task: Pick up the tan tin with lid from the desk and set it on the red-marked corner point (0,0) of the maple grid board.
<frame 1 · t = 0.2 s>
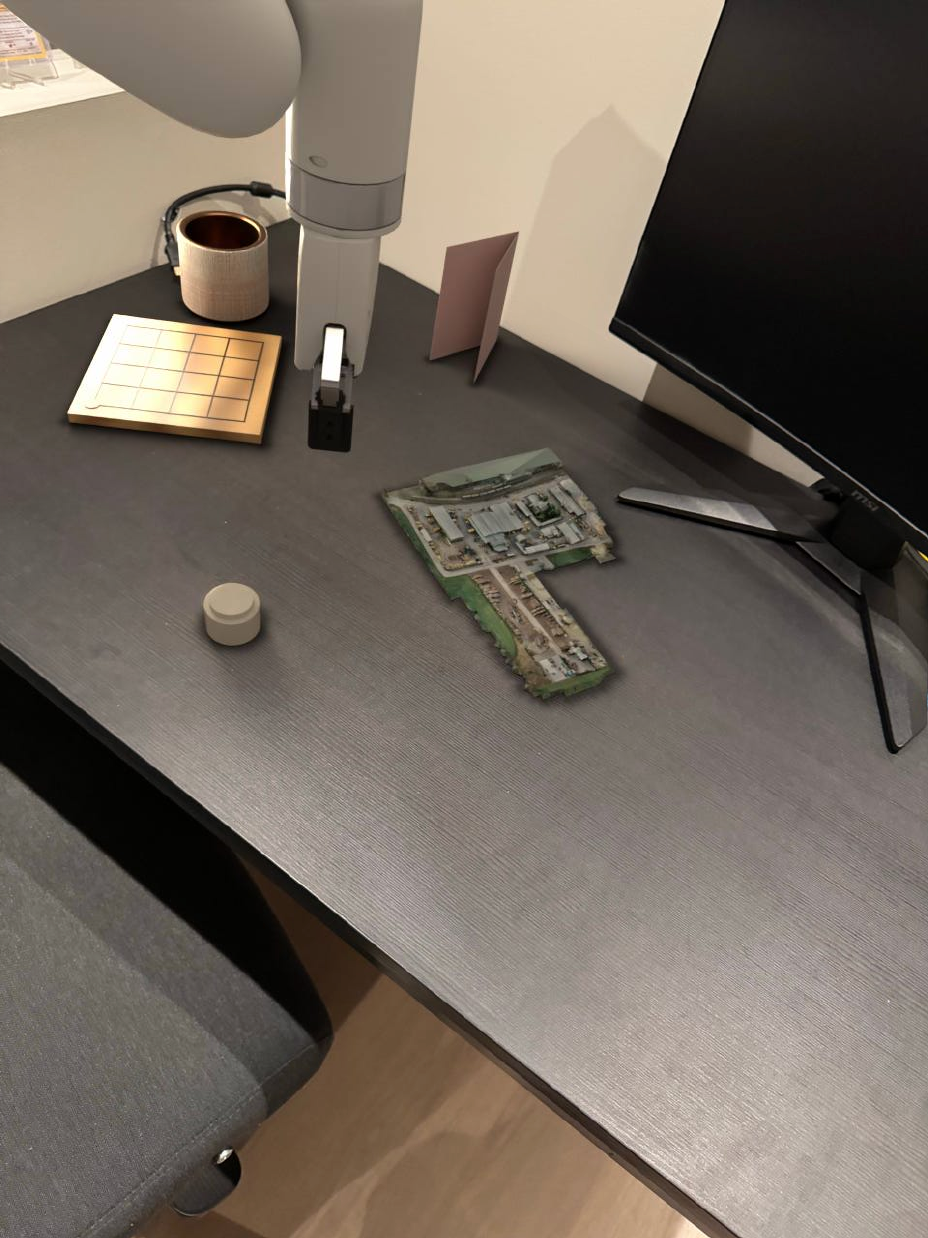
hand: (334, 409, 67), 19 cm above the table, tool pointing down, fingers open, 9 cm apart
tan tin with lid: (233, 625, 76), on the table
board: (184, 380, 98), on the table
greeting card: (476, 362, 111), on the table
model: (536, 568, 87), on the table
planter: (226, 304, 110), on the table
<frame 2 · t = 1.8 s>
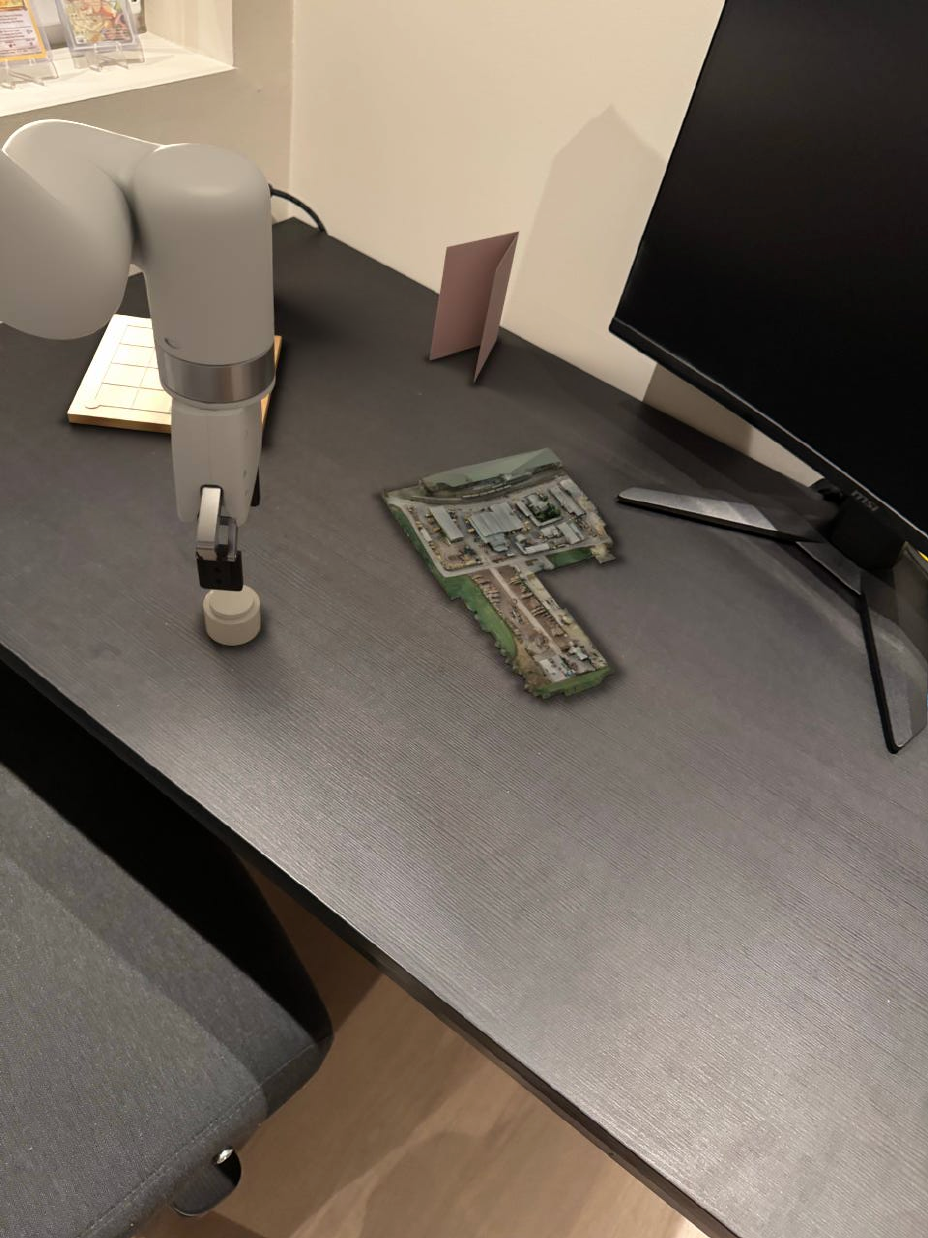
hand: (231, 543, 68), 10 cm above the table, tool pointing down, fingers open, 9 cm apart
nothing on the table moved.
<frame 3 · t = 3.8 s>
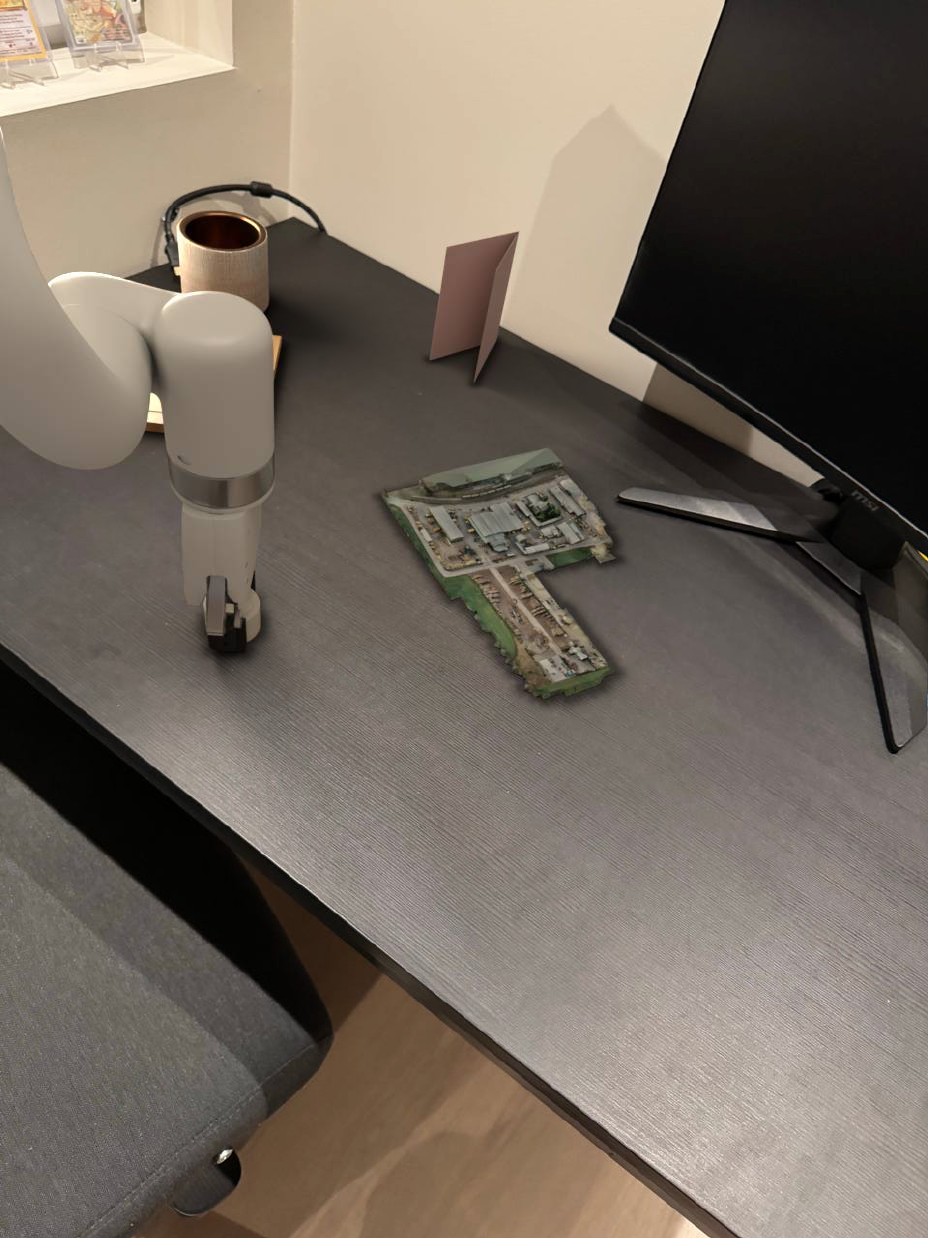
hand: (233, 622, 76), 0 cm above the table, tool pointing down, fingers closed on tan tin with lid, 4 cm apart
tan tin with lid: (233, 625, 76), on the table, touching gripper
everything else where it was.
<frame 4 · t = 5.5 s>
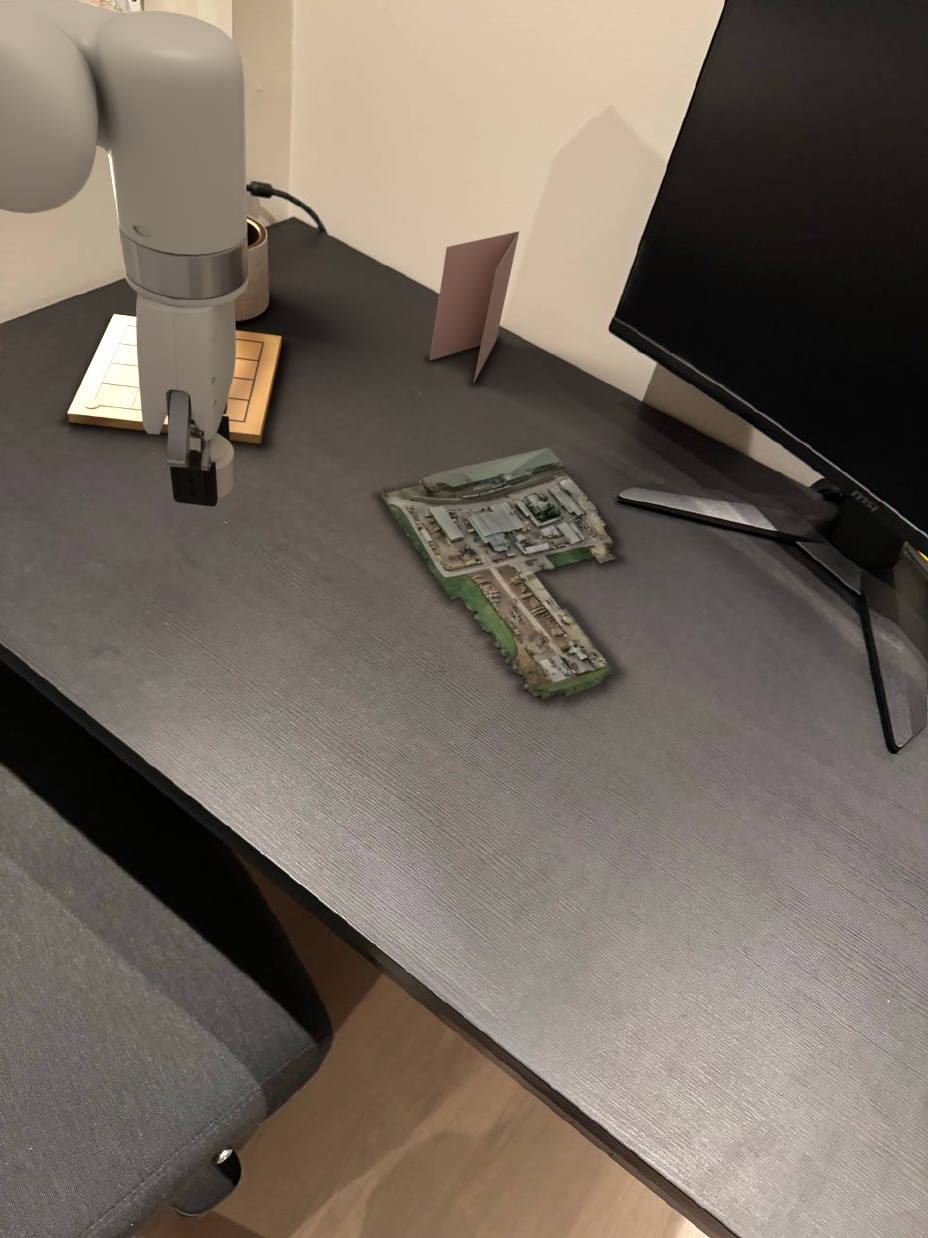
hand: (203, 476, 66), 15 cm above the table, tool pointing down, fingers closed on tan tin with lid, 4 cm apart
tan tin with lid: (203, 480, 67), point 14 cm above the table, touching gripper
everything else where it was.
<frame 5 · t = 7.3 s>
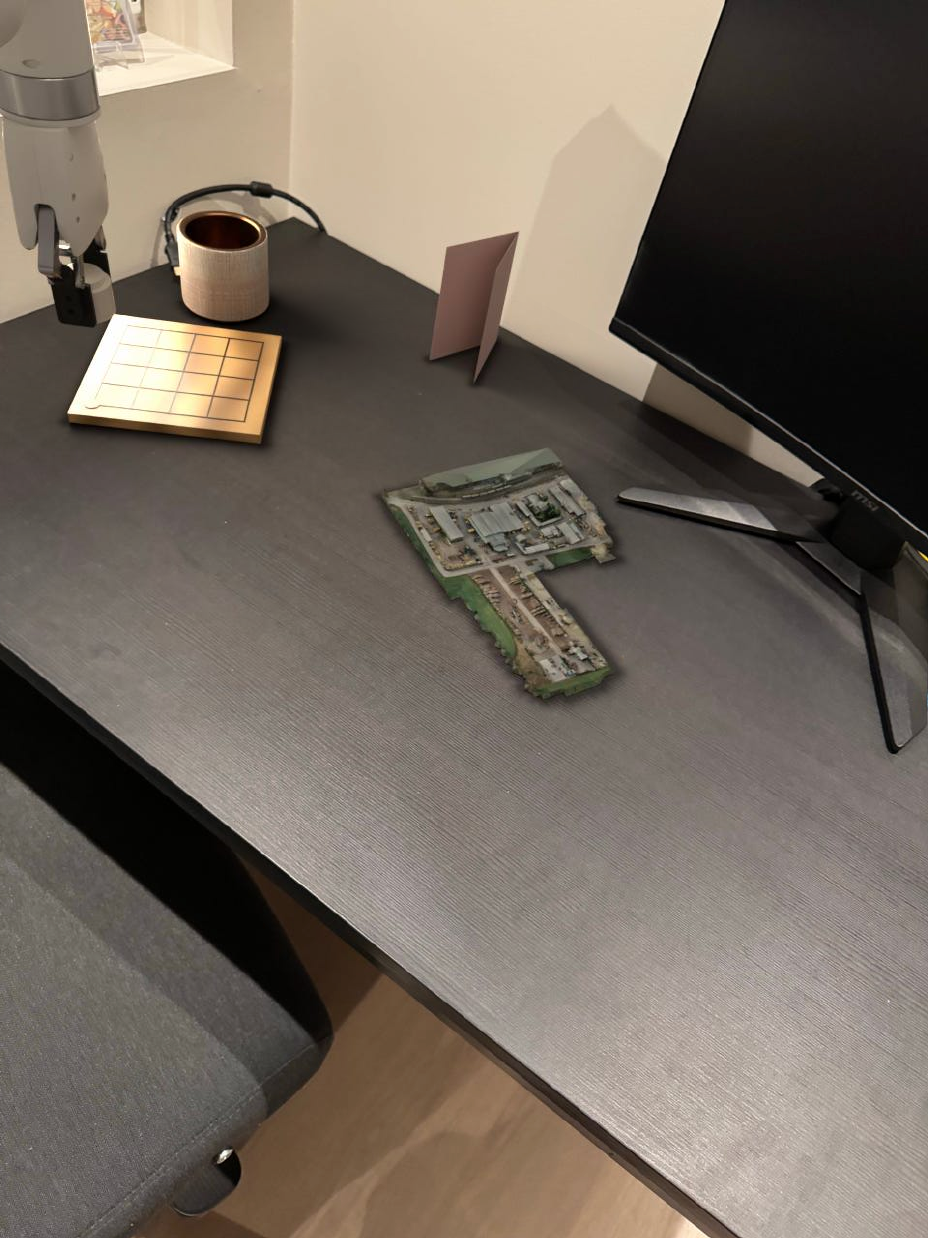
hand: (86, 305, 78), 15 cm above the table, tool pointing down, fingers closed on tan tin with lid, 4 cm apart
tan tin with lid: (88, 310, 78), point 15 cm above the table, touching gripper
everything else where it was.
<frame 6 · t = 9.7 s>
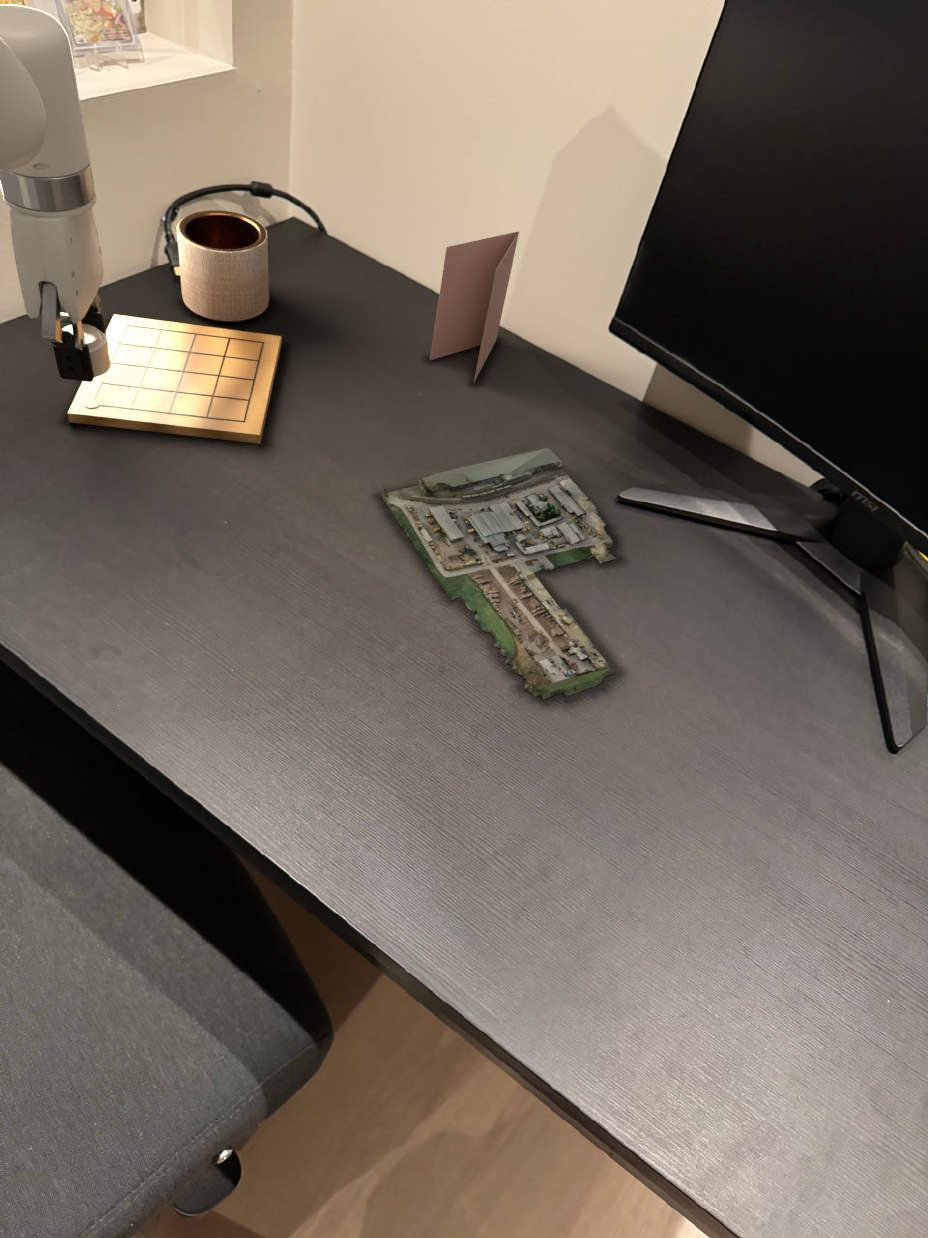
hand: (84, 361, 87), 6 cm above the table, tool pointing down, fingers closed on tan tin with lid, 4 cm apart
tan tin with lid: (86, 364, 87), point 6 cm above the table, touching gripper
everything else where it was.
when the fingers open (2 cm above the table, at t = 11.3 s): tan tin with lid stays where it is, resting on board.
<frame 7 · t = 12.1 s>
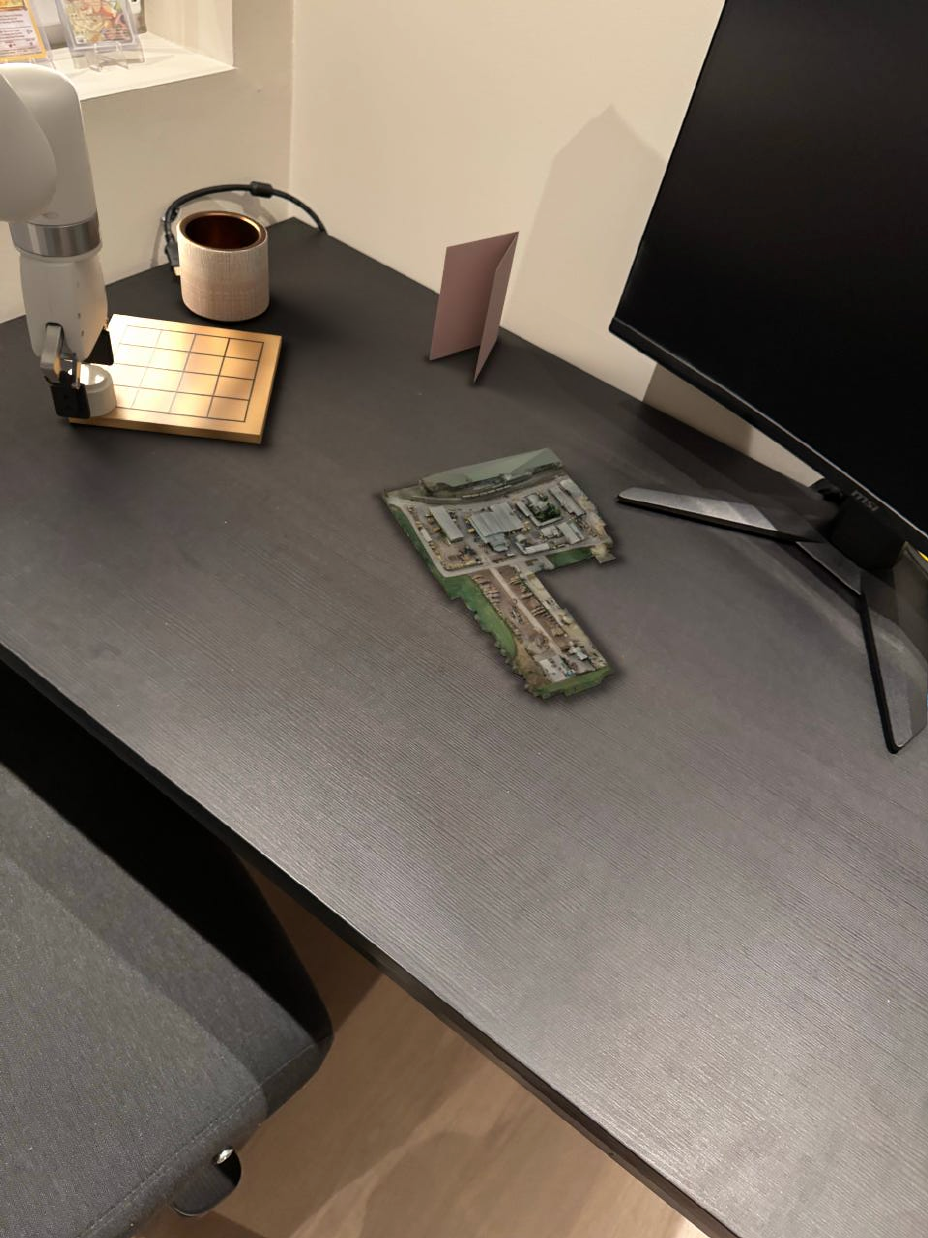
hand: (87, 388, 89), 3 cm above the table, tool pointing down, fingers open, 9 cm apart
tan tin with lid: (93, 403, 91), point 1 cm above the table, touching board
everything else where it was.
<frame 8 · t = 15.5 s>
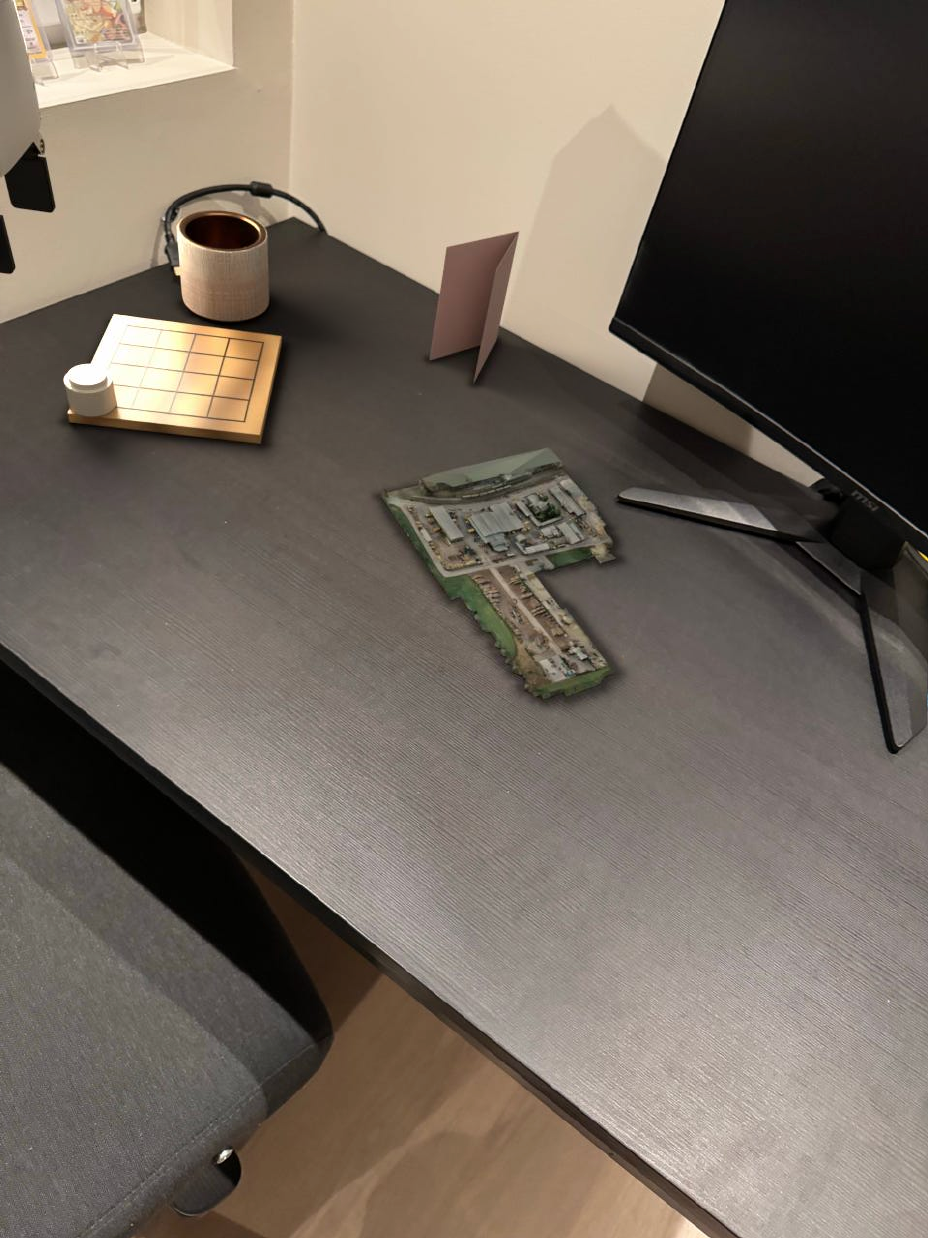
hand: (14, 237, 63), 26 cm above the table, tool pointing down, fingers open, 9 cm apart
nothing on the table moved.
at the end: tan tin with lid 0.1 cm from the target spot on the board, point 1.3 cm above the board's base; tan tin with lid tilted 0°; the gripper is holding nothing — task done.
